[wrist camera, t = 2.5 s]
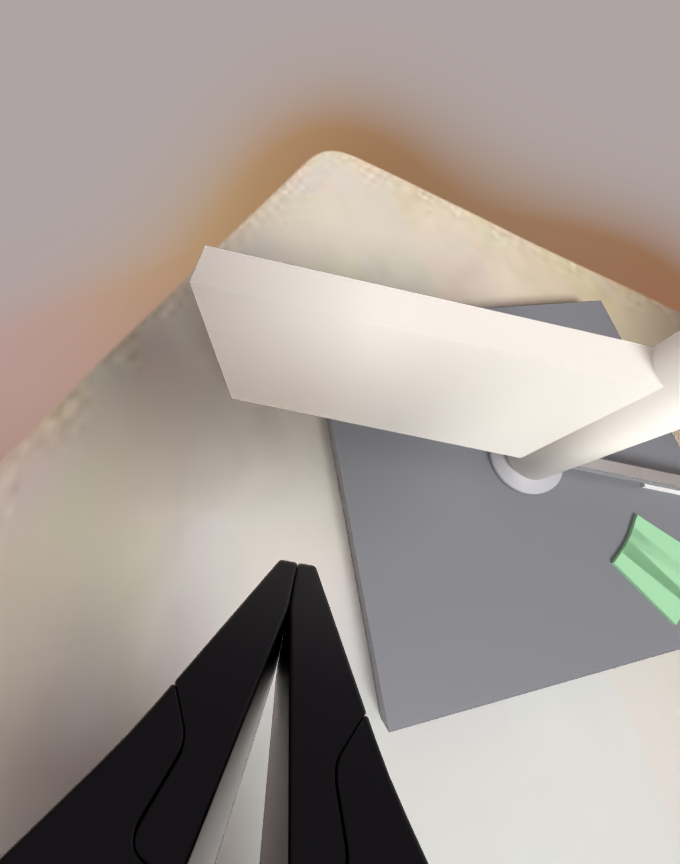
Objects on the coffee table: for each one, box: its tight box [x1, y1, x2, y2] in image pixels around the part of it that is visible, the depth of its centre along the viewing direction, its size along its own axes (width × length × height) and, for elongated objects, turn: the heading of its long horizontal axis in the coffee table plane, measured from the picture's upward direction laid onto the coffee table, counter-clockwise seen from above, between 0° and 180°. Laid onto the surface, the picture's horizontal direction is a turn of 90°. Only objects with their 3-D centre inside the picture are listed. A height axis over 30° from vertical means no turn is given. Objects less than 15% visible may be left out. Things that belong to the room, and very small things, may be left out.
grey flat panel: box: [327, 301, 680, 732], centre depth 22 cm, size 22×22×2 cm
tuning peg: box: [189, 246, 680, 491], centre depth 16 cm, size 28×3×10 cm, turn 80°
